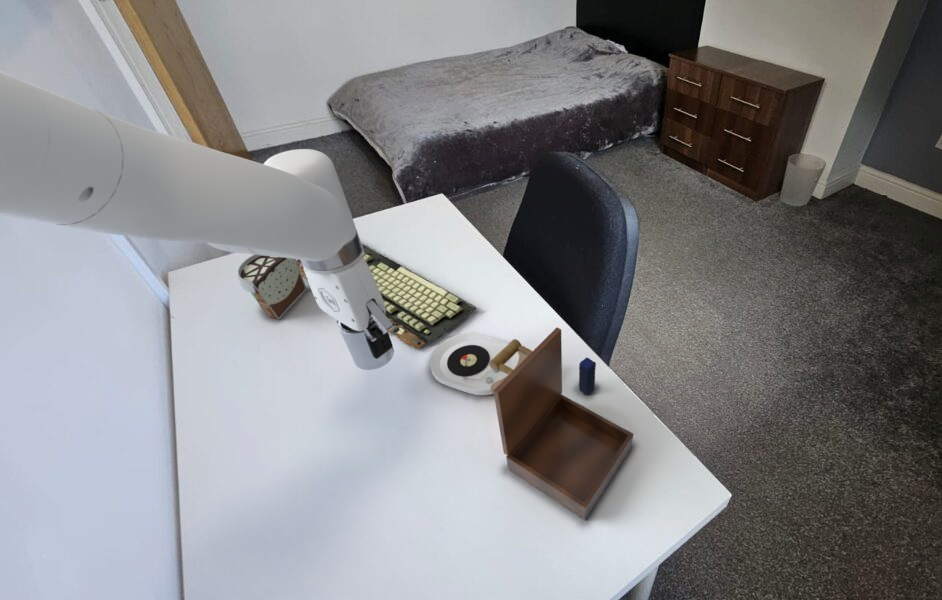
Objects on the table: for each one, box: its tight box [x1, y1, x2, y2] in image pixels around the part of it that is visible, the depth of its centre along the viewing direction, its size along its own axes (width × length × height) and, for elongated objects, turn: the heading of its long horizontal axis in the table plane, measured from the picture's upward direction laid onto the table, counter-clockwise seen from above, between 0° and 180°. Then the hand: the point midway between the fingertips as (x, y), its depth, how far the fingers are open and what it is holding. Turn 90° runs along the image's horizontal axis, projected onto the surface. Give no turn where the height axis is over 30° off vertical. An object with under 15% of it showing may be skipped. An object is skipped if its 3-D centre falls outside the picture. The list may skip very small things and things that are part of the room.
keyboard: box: [296, 243, 477, 350], centre depth 97 cm, size 45×15×2 cm, turn 54°
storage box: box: [505, 393, 634, 521], centre depth 68 cm, size 13×13×4 cm
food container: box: [237, 254, 308, 321], centre depth 91 cm, size 12×6×10 cm, turn 172°
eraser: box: [578, 357, 597, 396], centre depth 77 cm, size 2×2×7 cm
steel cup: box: [337, 315, 395, 371], centre depth 72 cm, size 6×6×8 cm
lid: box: [489, 327, 563, 456], centre depth 66 cm, size 14×13×5 cm
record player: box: [429, 332, 527, 396], centre depth 81 cm, size 12×3×20 cm
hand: (368, 342), depth 73 cm, fingers closed on steel cup, 6 cm apart
